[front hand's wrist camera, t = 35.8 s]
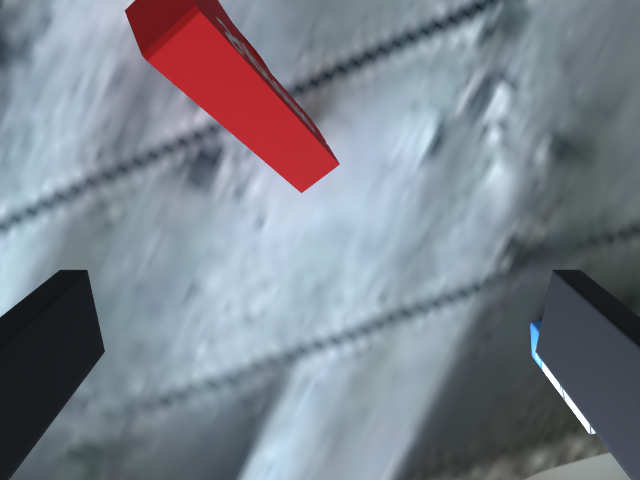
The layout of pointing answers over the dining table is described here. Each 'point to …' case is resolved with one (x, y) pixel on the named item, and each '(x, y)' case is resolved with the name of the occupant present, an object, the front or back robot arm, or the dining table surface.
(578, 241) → the dining table surface
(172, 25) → the toy gun
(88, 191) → the dining table surface
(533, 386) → the dining table surface
